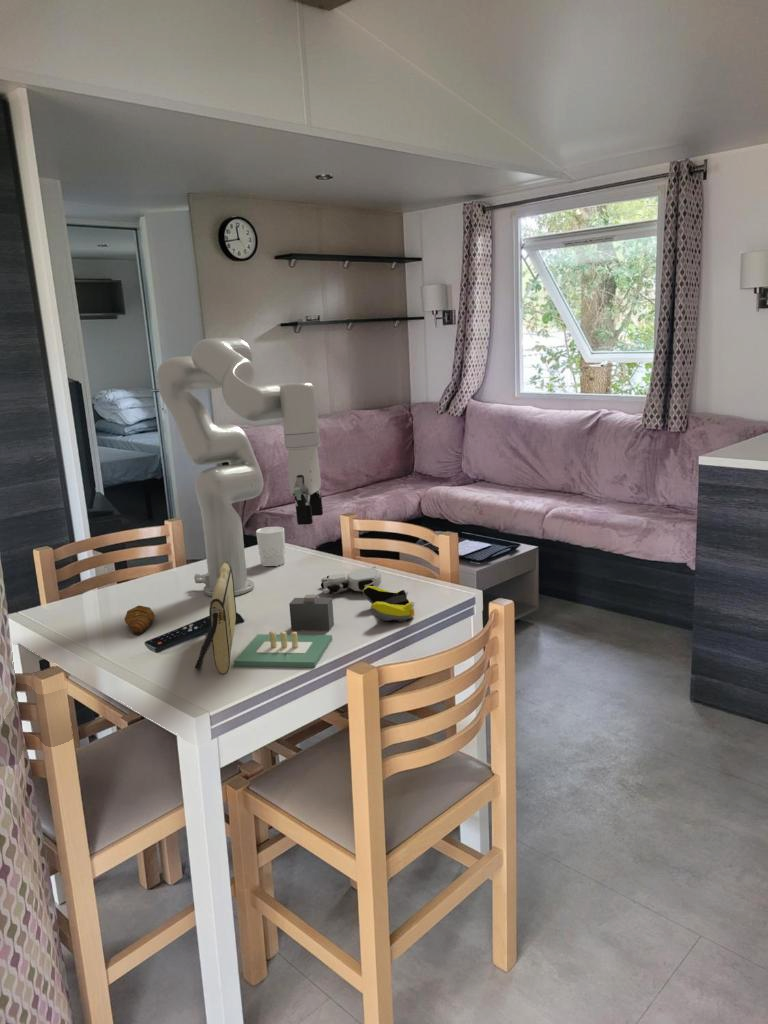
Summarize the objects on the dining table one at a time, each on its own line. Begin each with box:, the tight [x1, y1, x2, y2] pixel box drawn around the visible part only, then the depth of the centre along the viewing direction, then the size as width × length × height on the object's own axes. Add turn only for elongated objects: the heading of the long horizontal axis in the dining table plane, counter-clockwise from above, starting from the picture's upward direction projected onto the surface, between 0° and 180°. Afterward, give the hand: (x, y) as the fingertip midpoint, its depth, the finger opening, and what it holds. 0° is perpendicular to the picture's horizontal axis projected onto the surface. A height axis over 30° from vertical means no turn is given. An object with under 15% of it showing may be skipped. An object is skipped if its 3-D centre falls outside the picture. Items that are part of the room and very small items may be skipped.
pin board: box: [233, 631, 333, 668], centre depth 152 cm, size 16×14×4 cm
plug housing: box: [288, 594, 335, 632], centre depth 165 cm, size 8×4×7 cm, turn 80°
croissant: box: [123, 605, 156, 635], centre depth 172 cm, size 14×7×5 cm, turn 11°
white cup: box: [255, 526, 286, 567], centre depth 217 cm, size 8×8×10 cm
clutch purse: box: [194, 562, 238, 675], centre depth 154 cm, size 30×7×15 cm, turn 8°
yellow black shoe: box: [362, 586, 416, 622], centre depth 170 cm, size 15×6×10 cm
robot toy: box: [320, 566, 382, 595], centre depth 190 cm, size 12×4×15 cm
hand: (310, 519), depth 167 cm, fingers open, 9 cm apart
